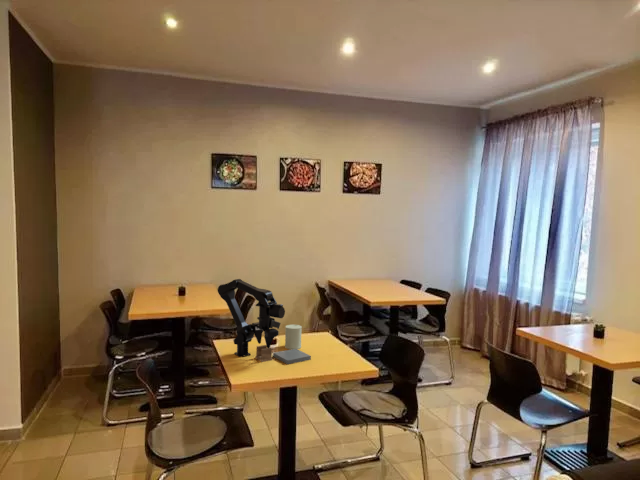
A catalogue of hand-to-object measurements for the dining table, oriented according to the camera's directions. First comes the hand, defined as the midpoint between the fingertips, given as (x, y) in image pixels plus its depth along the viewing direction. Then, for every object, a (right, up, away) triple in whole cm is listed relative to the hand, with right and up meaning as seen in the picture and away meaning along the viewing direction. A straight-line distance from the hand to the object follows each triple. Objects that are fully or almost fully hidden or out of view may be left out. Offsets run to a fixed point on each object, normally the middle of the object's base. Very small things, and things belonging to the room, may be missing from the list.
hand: (263, 345), depth 230 cm
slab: (+14, -7, +3) cm, 16 cm away
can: (+13, -6, +23) cm, 27 cm away
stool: (0, -7, 0) cm, 7 cm away
